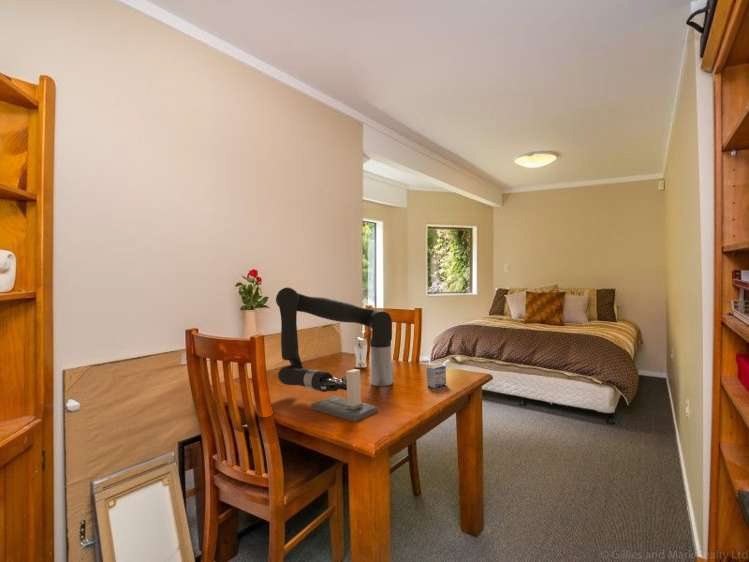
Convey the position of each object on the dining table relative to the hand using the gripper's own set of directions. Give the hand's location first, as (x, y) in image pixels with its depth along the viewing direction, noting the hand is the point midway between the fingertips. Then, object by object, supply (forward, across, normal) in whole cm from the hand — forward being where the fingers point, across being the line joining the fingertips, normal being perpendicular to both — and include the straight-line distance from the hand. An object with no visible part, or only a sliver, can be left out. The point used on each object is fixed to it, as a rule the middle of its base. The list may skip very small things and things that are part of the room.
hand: (350, 387), depth 140 cm
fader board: (-4, 0, +9) cm, 10 cm away
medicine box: (+8, +46, +9) cm, 48 cm away
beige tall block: (+1, 0, +7) cm, 7 cm away
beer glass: (-44, +55, +9) cm, 71 cm away
